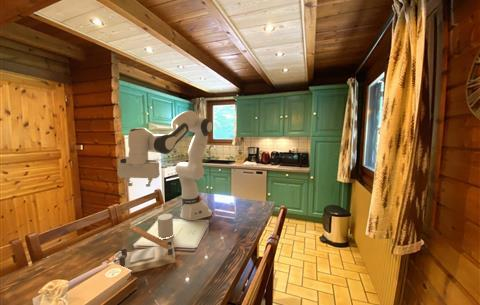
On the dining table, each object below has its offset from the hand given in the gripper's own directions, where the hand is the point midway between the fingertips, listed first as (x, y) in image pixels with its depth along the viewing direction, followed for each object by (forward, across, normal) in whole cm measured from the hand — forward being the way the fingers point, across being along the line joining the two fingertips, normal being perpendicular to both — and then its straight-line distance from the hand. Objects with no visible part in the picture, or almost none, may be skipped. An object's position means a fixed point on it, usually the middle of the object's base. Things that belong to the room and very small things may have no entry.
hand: (139, 186), depth 101 cm
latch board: (+34, -9, +10) cm, 36 cm away
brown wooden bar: (+23, -10, +10) cm, 27 cm away
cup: (+33, -9, -12) cm, 36 cm away
